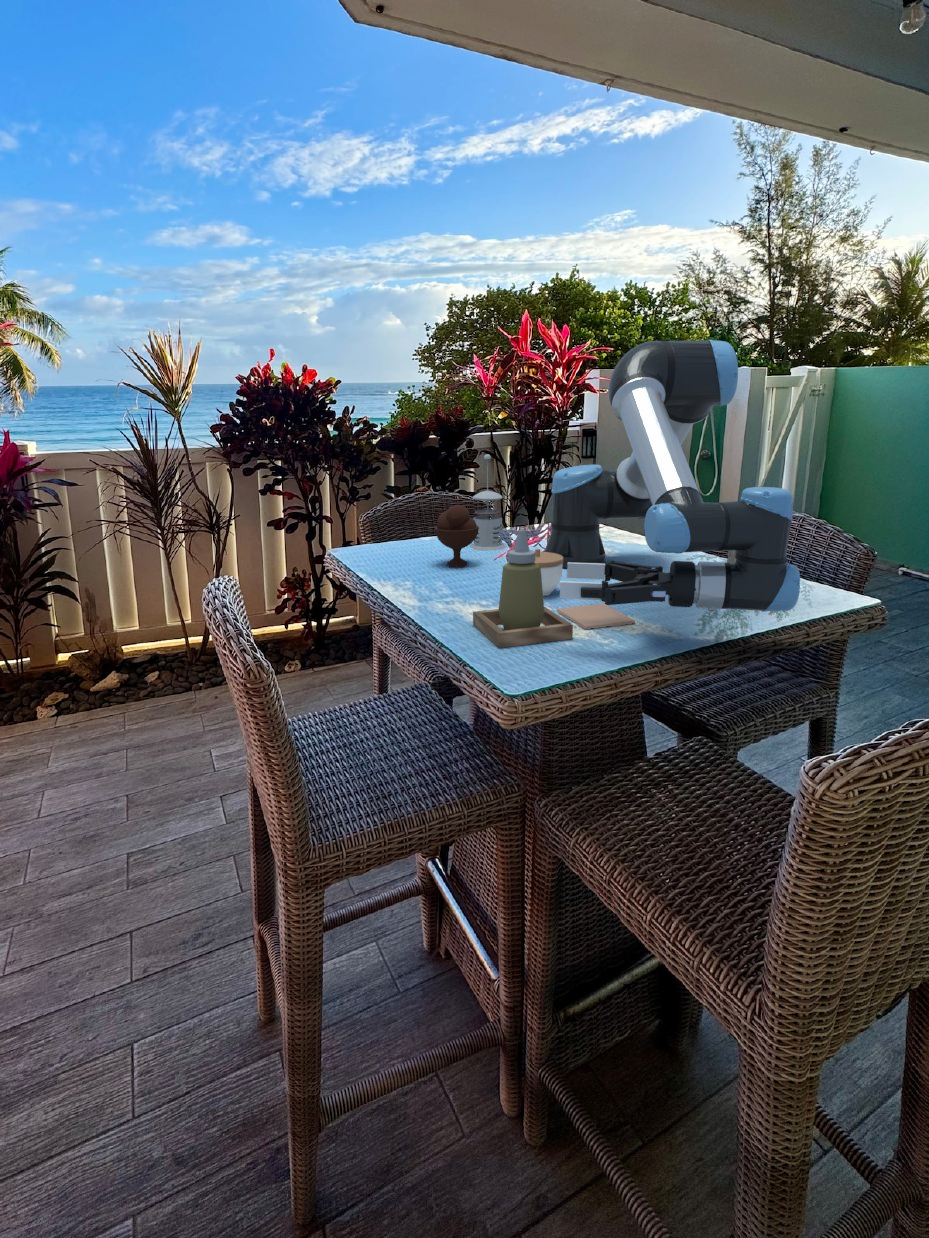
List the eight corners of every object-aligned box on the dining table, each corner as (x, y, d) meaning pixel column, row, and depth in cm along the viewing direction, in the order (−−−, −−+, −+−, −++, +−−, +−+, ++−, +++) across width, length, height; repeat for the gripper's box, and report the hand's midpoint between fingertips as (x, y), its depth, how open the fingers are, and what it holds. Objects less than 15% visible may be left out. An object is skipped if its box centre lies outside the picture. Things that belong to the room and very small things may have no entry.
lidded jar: (529, 602, 144) (529, 556, 141) (502, 590, 153) (502, 547, 150) (572, 595, 149) (574, 550, 146) (544, 584, 158) (544, 542, 155)
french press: (467, 550, 194) (466, 455, 186) (474, 541, 205) (473, 452, 197) (503, 550, 192) (503, 455, 185) (508, 542, 203) (508, 452, 196)
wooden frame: (540, 617, 134) (540, 604, 133) (572, 638, 122) (572, 624, 121) (473, 624, 130) (472, 611, 130) (498, 648, 118) (498, 633, 117)
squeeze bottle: (541, 640, 122) (543, 535, 116) (494, 637, 123) (494, 534, 118) (546, 625, 129) (548, 527, 124) (501, 623, 131) (501, 526, 125)
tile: (603, 606, 140) (603, 603, 140) (635, 623, 129) (635, 620, 129) (556, 611, 138) (556, 608, 137) (585, 629, 127) (585, 626, 126)
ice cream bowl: (487, 562, 178) (486, 502, 174) (463, 572, 170) (462, 508, 165) (451, 558, 184) (450, 500, 180) (426, 567, 175) (424, 505, 171)
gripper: (699, 630, 106) (555, 622, 111) (687, 587, 129) (569, 582, 134) (703, 581, 104) (557, 575, 109) (690, 546, 127) (570, 543, 132)
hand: (563, 579), depth 121 cm, fingers open, 13 cm apart
